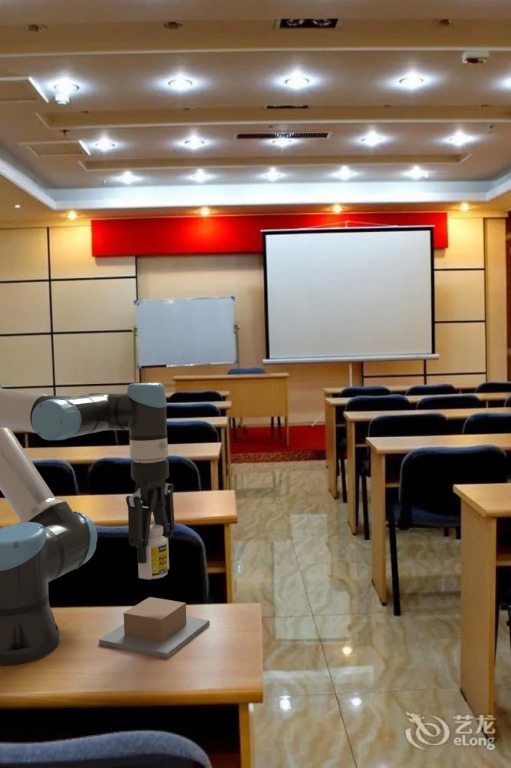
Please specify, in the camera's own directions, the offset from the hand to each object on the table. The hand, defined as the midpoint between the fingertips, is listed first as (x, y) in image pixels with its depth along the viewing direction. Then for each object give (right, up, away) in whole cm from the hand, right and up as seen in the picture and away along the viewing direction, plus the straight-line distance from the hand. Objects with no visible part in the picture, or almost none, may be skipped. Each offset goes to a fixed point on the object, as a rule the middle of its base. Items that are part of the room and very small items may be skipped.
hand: (154, 572), depth 129 cm
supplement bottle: (0, -1, 0) cm, 1 cm away
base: (0, -13, +1) cm, 13 cm away
